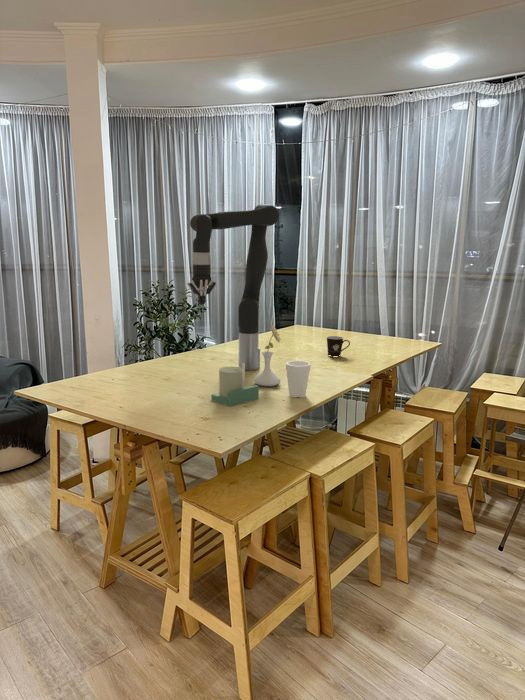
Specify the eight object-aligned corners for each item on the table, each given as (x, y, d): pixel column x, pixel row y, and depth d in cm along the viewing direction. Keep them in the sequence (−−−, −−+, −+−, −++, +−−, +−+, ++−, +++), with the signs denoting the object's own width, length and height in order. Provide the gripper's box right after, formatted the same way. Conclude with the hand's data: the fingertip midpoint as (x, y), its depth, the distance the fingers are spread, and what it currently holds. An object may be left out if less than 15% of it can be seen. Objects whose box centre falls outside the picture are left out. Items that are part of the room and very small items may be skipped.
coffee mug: (324, 357, 260) (324, 338, 258) (328, 353, 268) (329, 335, 266) (346, 359, 256) (347, 340, 254) (349, 355, 264) (350, 337, 261)
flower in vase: (271, 390, 201) (272, 329, 196) (248, 385, 207) (248, 326, 202) (287, 382, 212) (288, 324, 207) (264, 378, 218) (265, 322, 213)
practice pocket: (211, 399, 188) (211, 361, 185) (240, 392, 198) (240, 355, 195) (229, 406, 181) (229, 366, 178) (258, 398, 191) (258, 360, 187)
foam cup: (293, 400, 189) (293, 367, 186) (280, 393, 197) (281, 362, 194) (314, 397, 193) (315, 364, 190) (301, 390, 201) (302, 359, 198)
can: (236, 403, 184) (236, 372, 181) (214, 400, 187) (214, 369, 185) (247, 397, 192) (247, 366, 190) (225, 393, 196) (225, 364, 193)
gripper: (191, 264, 203) (191, 306, 207) (219, 263, 210) (219, 304, 214) (183, 263, 209) (184, 304, 213) (211, 262, 216) (211, 302, 220)
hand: (202, 304), depth 213 cm, fingers closed
